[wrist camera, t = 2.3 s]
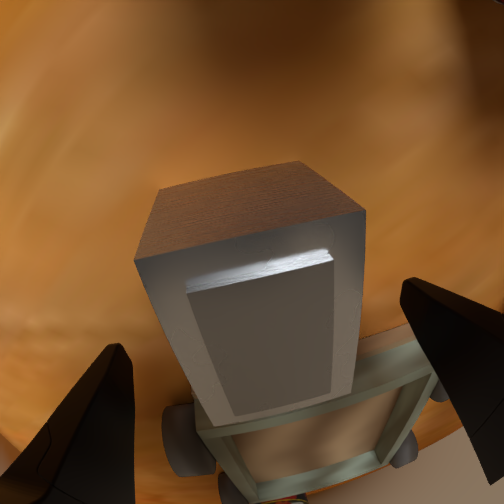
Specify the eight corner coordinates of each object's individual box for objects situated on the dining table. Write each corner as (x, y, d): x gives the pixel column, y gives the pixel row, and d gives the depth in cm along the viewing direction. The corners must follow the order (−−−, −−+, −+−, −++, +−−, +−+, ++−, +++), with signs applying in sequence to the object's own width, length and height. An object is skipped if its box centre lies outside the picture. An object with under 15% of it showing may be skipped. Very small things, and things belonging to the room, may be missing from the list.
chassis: (447, 307, 16) (487, 353, 12) (392, 437, 26) (407, 468, 22) (157, 383, 15) (155, 454, 11) (227, 483, 24) (233, 519, 20)
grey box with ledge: (298, 159, 11) (371, 214, 6) (310, 309, 14) (353, 398, 10) (159, 188, 10) (131, 266, 6) (205, 333, 14) (214, 432, 9)
